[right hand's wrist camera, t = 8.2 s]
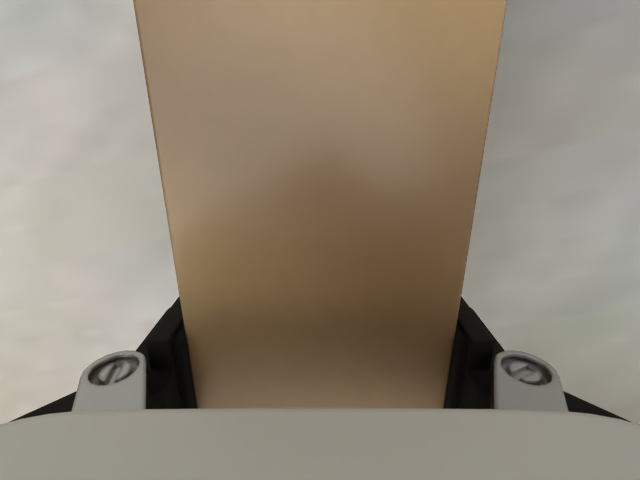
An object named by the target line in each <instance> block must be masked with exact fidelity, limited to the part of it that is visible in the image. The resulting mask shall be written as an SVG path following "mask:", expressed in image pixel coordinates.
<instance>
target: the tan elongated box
mask: <svg viewBox="0 0 640 480" xmlns="http://www.w3.org/2000/svg"><path fill="white" fill-rule="evenodd" d="M133 2H134V8H135V15H136V21H137V27H138V34H139V40H140V47H141V53H142V59H143V66H144V72H145V78H146V85H147V91H148V98H149V104H150V110H151V117H152V123H153V130H154V136H155V142H156V149H157V155H158V161H159V168H160V174H161V181H162V187H163V193H164V200H165V206H166V213H167V219H168V225H169V232H170V238H171V244H172V251H173V257H174V264H175V270H176V276H177V283H178V289H179V296H180V302H181V308H182V315H183V321H184V327H185V333H186V339H187V345H188V352H189V358H190V365H191V371H192V378H193V384H194V390H195V397H196V403H197V409H218V408H417V409H443V408H444V402H445V396H446V389H447V383H448V376H449V370H450V363H451V357H452V351H453V344H454V338H455V331H456V325H457V319H458V312H459V306H460V299H461V293H462V286H463V280H464V274H465V267H466V261H467V254H468V248H469V242H470V235H471V229H472V222H473V216H474V209H475V203H476V197H477V190H478V184H479V177H480V171H481V165H482V158H483V152H484V145H485V139H486V132H487V126H488V120H489V113H490V107H491V100H492V94H493V88H494V81H495V75H496V68H497V62H498V55H499V49H500V43H501V36H502V30H503V23H504V17H505V10H506V4H507V0H133Z"/></svg>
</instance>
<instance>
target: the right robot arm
mask: <svg viewBox="0 0 640 480" xmlns="http://www.w3.org/2000/svg"><path fill="white" fill-rule="evenodd" d="M0 480H640V425H639V424H636V423H632V422H630V421H628V420H626V419H623V418H621V417H619V416H617V415H615V414H612V413H610V412H608V411H606V410H604V409H601V408H599V407H597V406H595V405H593V404H590V403H588V402H586V401H584V400H582V399H579V398H577V397H575V396H573V395H571V394H568V393H566V392H564V391H563V389H562V385H561V381H560V377H559V375H558V374H557V372H556V370H555V369H554V368H553V367H552V366H551V365H549V364H548V363H547V362H545V361H544V360H542V359H540V358H538V357H536V356H534V355H531V354H528V353H525V352H520V351H504V349H503V348H502V347H501V345H500V344H499V343H498V342H497V340H496V339H495V338H494V336H493V335H492V334H491V332H490V331H489V330H488V329H487V327H486V326H485V325H484V323H483V322H482V321H481V320H480V318H479V317H478V316H477V314H476V313H475V312H474V310H473V309H471V308H470V307H469V306H468V305H467V303H466V302H465V301H464V299H463V298H462V297H461V299H460V306H459V312H458V319H457V325H456V331H455V338H454V344H453V351H452V357H451V363H450V370H449V376H448V383H447V389H446V396H445V402H444V408H443V409H417V408H218V409H197V403H196V397H195V390H194V384H193V378H192V371H191V365H190V358H189V352H188V345H187V339H186V333H185V327H184V321H183V315H182V308H181V302H180V296H179V297H178V299H177V300H176V301H175V303H174V304H173V305H172V307H171V308H169V309H168V310H167V311H166V312H165V314H164V315H163V316H162V318H161V319H160V320H159V321H158V323H157V324H156V325H155V327H154V328H153V329H152V330H151V332H150V333H149V334H148V336H147V337H146V338H145V339H144V341H143V342H142V343H141V345H140V346H139V347H138V349H137V350H136V351H120V352H115V353H112V354H109V355H106V356H104V357H102V358H100V359H98V360H96V361H95V362H93V363H92V364H91V365H89V366H88V367H87V368H86V369H85V370H84V372H83V374H82V375H81V377H80V381H79V385H78V389H77V391H76V392H74V393H72V394H70V395H67V396H65V397H63V398H61V399H59V400H56V401H54V402H52V403H50V404H48V405H45V406H43V407H41V408H39V409H37V410H34V411H32V412H30V413H28V414H26V415H23V416H21V417H19V418H17V419H15V420H12V421H10V422H8V423H4V424H1V425H0Z"/></svg>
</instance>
